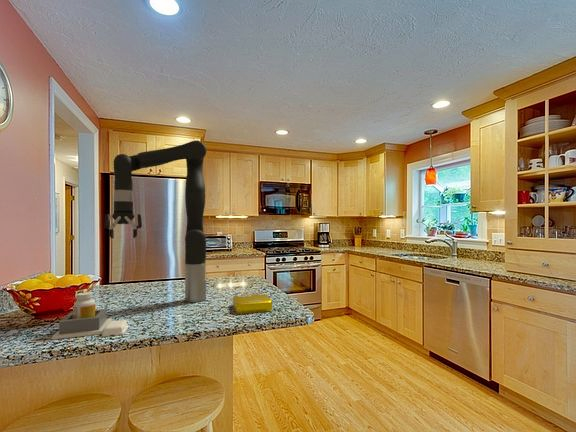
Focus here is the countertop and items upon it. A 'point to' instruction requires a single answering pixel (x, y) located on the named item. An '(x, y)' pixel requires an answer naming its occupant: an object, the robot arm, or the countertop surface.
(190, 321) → the countertop surface
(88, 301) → the supplement bottle
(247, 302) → the element tile
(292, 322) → the countertop surface
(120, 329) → the soap
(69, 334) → the pocket plate
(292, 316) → the countertop surface
